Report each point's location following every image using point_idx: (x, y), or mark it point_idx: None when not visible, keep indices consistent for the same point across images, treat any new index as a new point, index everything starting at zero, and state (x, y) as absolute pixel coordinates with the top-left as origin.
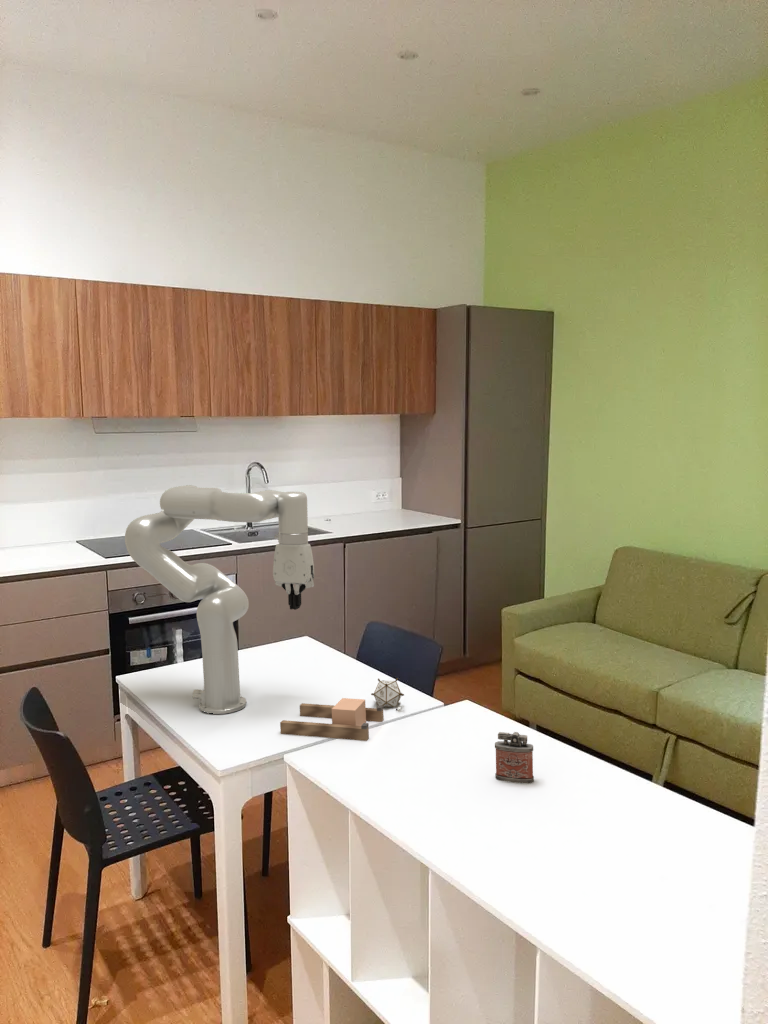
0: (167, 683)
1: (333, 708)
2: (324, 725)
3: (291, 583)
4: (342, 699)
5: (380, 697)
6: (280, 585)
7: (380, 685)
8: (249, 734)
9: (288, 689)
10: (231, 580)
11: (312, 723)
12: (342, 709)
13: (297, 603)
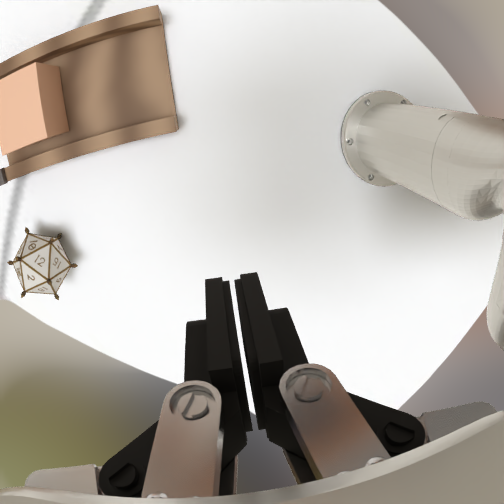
0: (495, 221)
1: (33, 67)
2: (54, 39)
3: (244, 494)
4: (42, 128)
5: (37, 239)
6: (437, 420)
7: (38, 264)
8: (242, 10)
9: (305, 272)
10: None
11: (83, 34)
12: (13, 73)
13: (198, 328)
